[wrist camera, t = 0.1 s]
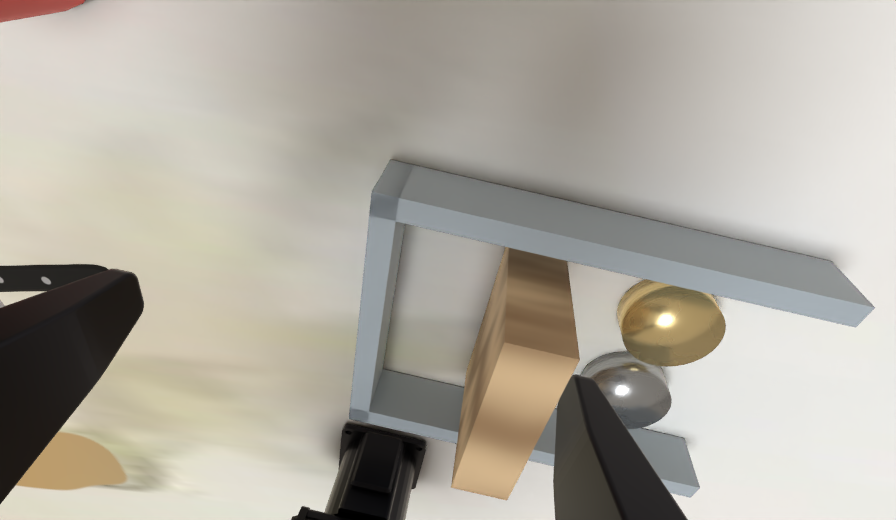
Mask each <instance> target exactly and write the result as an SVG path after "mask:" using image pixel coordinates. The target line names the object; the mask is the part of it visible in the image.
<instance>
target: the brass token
mask: <svg viewBox="0 0 896 520" xmlns="http://www.w3.org/2000/svg"><path fill="white" fill-rule="evenodd" d="M617 317H618V322H619V326H620V330H621V334H622V338H623V342H624V345H625V347H626V349H627V350H628V351H629V353H630V354H632V355H633V356H634V357H635V358H637V359H638V360H640V361H642V362H645V363H648V364H651V365H657V366H678V365H684V364H688V363H691V362H694V361H696V360H699V359H701V358H703V357H704V356H706V355H708V354H709V353H710V352H712V351H713V350H714V349H715V348H716V347H717V346H718V345H719V343H720V342H721V340H722V338H723V336H724V333H725V327H726V325H725V320H724V317H723V315H722V313H721V311H720V309H719V307H718V305H717V303H716V301H715V299H714V297H713V296H712V294H708V293H704V292H700V291H695V290H691V289H687V288H682V287H678V286H674V285H669V284H665V283H661V282H656V281H652V280H648V279H646V280H644V281H641V282H640V283H638V284H636V285H635V286H633V287H632V288H631V289H630V290H628V291H627V292H626V294H625V295H624V296H623V297H622V299H621V301H620V303H619V305H618V309H617Z"/></svg>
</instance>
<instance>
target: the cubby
mask: <svg viewBox="0 0 896 520" xmlns="http://www.w3.org/2000/svg"><path fill="white" fill-rule="evenodd" d="M405 224H409V225H413V226H417V227H422V228H426V229H430V230H435V231H439V232H444V233H448V234H452V235H457V236H461V237H465V238H470V239H474V240H478V241H483V242H487V243H491V244H496V245H500V246H504V247H509V248H513V249H517V250H522V251H526V252H530V253H535V254H539V255H543V256H548V257H552V258H556V259H561V260H565V261H569V262H574V263H578V264H582V265H587V266H591V267H595V268H600V269H604V270H608V271H613V272H617V273H621V274H626V275H630V276H634V277H639V278H643V279H648V280H652V281H656V282H661V283H665V284H669V285H674V286H678V287H682V288H687V289H691V290H695V291H700V292H704V293H708V294H713V295H717V296H721V297H726V298H730V299H734V300H739V301H743V302H747V303H752V304H756V305H760V306H765V307H769V308H773V309H778V310H782V311H786V312H791V313H795V314H799V315H804V316H808V317H812V318H817V319H821V320H825V321H830V322H834V323H839V324H843V325H847V326H852V327H857V326H858V325H859V324H860V323H861V322H862V321H863V320H864V319H865V318H866V317H867V315H868V314H869V313H870V312H871V311H872V310H873V309H874V308H875V307H874V306H873V305H872V304H871V303H870V302H869V301H868V300H867V299H866V298H865V296H864V295H863V294H862V293H861V292H860V291H859V290H858V289H857V288H856V287H855V286H854V285H853V284H852V283H851V282H850V280H849V279H848V278H847V277H846V276H845V275H844V274H843V273H842V272H841V271H840V270H839V269H838V268H837V267H836V265H835V264H834V263H833V262H832V261H828V260H824V259H819V258H815V257H811V256H806V255H802V254H798V253H793V252H789V251H785V250H780V249H776V248H772V247H767V246H763V245H759V244H754V243H750V242H746V241H741V240H737V239H733V238H728V237H724V236H720V235H715V234H711V233H707V232H702V231H698V230H694V229H689V228H685V227H681V226H676V225H672V224H667V223H663V222H659V221H654V220H650V219H646V218H641V217H637V216H633V215H628V214H624V213H620V212H615V211H611V210H607V209H602V208H598V207H594V206H589V205H585V204H581V203H576V202H572V201H568V200H563V199H559V198H555V197H550V196H546V195H542V194H537V193H533V192H529V191H524V190H520V189H516V188H511V187H507V186H503V185H498V184H494V183H490V182H485V181H481V180H477V179H472V178H468V177H464V176H459V175H455V174H451V173H446V172H442V171H438V170H433V169H429V168H425V167H420V166H416V165H412V164H407V163H403V162H399V161H394V160H390V161H389V163H388V165H387V167H386V168H385V170H384V172H383V173H382V175H381V177H380V179H379V180H378V182H377V184H376V185H375V187H374V189H373V191H372V195H371V205H370V215H369V225H368V235H367V244H366V254H365V264H364V274H363V284H362V294H361V304H360V314H359V324H358V333H357V343H356V353H355V363H354V373H353V383H352V393H351V403H350V413H349V419H351V420H355V421H360V422H364V423H368V424H373V425H377V426H382V427H386V428H390V429H395V430H399V431H403V432H408V433H412V434H416V435H421V436H425V437H429V438H434V439H438V440H442V441H447V442H451V443H455V444H457V439H458V432H459V424H460V416H461V409H462V401H463V394H464V388H463V387H459V386H455V385H450V384H446V383H442V382H437V381H433V380H429V379H424V378H420V377H416V376H411V375H407V374H402V373H398V372H394V371H389V370H385V369H383V364H384V357H385V351H386V345H387V338H388V332H389V325H390V319H391V312H392V306H393V300H394V293H395V287H396V280H397V274H398V267H399V261H400V254H401V248H402V242H403V235H404V229H405ZM556 418H557V409H554V411H553V413H552V414H551V416H550V418H549V420H548V422H547V424H546V426H545V428H544V430H543V432H542V434H541V436H540V438H539V440H538V441H537V443H536V445H535V447H534V449H533V451H532V453H531V455H530V457H529V459H528V460H529V461H534V462H538V463H542V464H547V465H551V466H554V457H555V437H556ZM628 431H629V432H630V434H631V435H632V437H633V438H634V440H635V441H636V443H637V444H638V446H639V447H640V449H641V450H642V452H643V453H644V455H645V456H646V458H647V459H648V461H649V462H650V464H651V465H652V467H653V468H654V470H655V471H656V473H657V474H658V476H659V477H660V479H661V480H662V482H663V483H664V485H665V486H666V488H667V489H668V491H669V492H670V493H673V494H677V495H682V496H686V497H690V498H691V497H692V496H693V495H694V494H695V492H696V491H697V490H698V489H699V488H700V486H699V483H698V480H697V477H696V474H695V471H694V468H693V464H692V461H691V458H690V455H689V452H688V449H687V446H686V442H685V439H684V438H681V437H676V436H672V435H668V434H663V433H659V432H655V431H650V430H646V429H642V428H637V429H628Z"/></svg>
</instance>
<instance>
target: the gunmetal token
mask: <svg viewBox="0 0 896 520" xmlns="http://www.w3.org/2000/svg"><path fill="white" fill-rule="evenodd" d="M581 376H585V377H589V378H592V379H593V380H595V382H596V383H597V384H598V386H599V387H600V389H601V390H602V392H603V393H604V395H605V396H606V398H607V399H608V401H609V402H610V404H611V405H612V407H613V408H614V410H615V411H616V413H617V414H618V416H619V417H620V419H621V420H622V422H623V423H624V425H625V426H626V428H627V429H637V428H642V427H645V426H648V425H651V424H653V423H655V422H657V421H659V420H660V419H661V418H663V417H664V416H665V415H666V414H667V412H668V411H669V409H670V406H671V395H670V392H669V389H668V386H667V383H666V379H665V376H664V373H663V370H662V368H661V367H660V366H657V365H651V364H648V363H645V362H642V361H640V360H638V359H637V358H635V357H634V356H633V355H632V354H630V353H629V352H614V353H609V354H606V355H603V356H600V357H598V358H596V359H594V360H593V361H591V362H590V363H589V364H588V365H587V366H586V367H585V368H584V370H583V372H582V374H581Z"/></svg>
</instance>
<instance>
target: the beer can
mask: <svg viewBox="0 0 896 520" xmlns="http://www.w3.org/2000/svg"><path fill="white" fill-rule="evenodd" d="M84 1H85V0H0V22H5V21H11V20H17V19H22V18H28V17H34V16H40V15H45V14H51V13H57V12H63V11H67V10H69V9H71V8H73V7H76V6H78V5H80V4H83V3H84Z"/></svg>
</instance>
